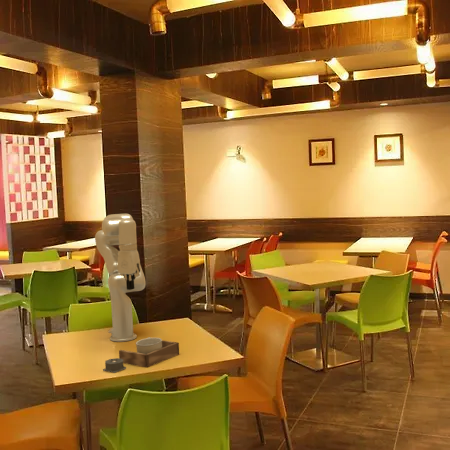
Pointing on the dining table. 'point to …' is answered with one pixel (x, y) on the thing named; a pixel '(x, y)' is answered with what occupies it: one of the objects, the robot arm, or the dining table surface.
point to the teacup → (148, 345)
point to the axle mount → (114, 371)
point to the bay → (150, 355)
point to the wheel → (114, 364)
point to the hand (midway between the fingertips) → (130, 289)
